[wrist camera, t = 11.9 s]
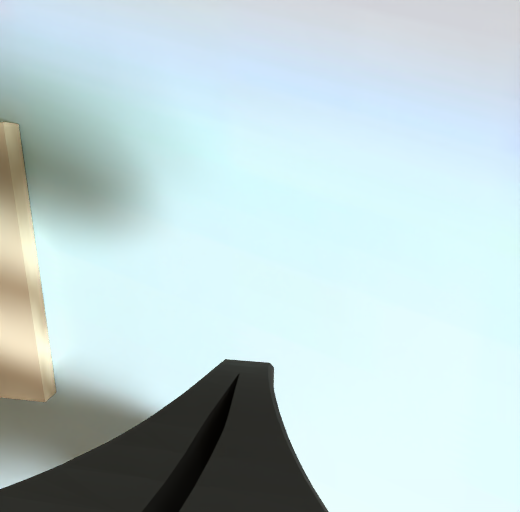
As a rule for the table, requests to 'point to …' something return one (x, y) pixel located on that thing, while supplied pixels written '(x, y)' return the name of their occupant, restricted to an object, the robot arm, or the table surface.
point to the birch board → (20, 284)
